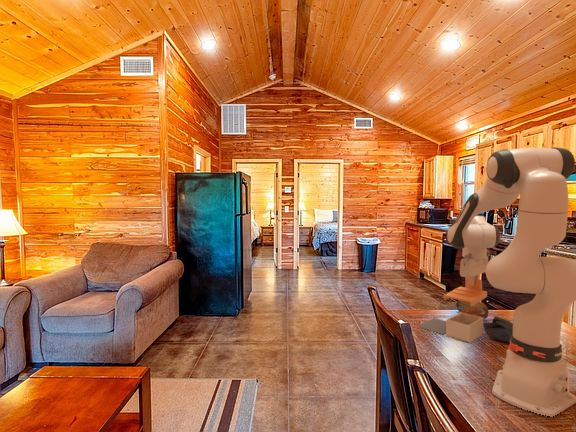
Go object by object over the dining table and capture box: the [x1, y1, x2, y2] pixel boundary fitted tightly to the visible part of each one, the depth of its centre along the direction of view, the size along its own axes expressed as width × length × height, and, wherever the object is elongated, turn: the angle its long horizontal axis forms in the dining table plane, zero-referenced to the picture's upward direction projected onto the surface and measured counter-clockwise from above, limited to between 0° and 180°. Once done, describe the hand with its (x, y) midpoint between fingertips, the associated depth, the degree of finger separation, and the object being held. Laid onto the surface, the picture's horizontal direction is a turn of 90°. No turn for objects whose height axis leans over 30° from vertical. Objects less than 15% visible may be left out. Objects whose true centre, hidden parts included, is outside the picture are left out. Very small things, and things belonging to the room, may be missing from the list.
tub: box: [445, 312, 485, 344], centre depth 131 cm, size 14×9×7 cm, turn 129°
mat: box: [419, 317, 446, 336], centre depth 141 cm, size 16×12×1 cm
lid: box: [443, 277, 488, 306], centre depth 131 cm, size 17×11×6 cm, turn 129°
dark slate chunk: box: [483, 316, 513, 344], centre depth 132 cm, size 15×22×5 cm
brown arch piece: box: [456, 300, 489, 320], centre depth 153 cm, size 15×3×8 cm, turn 25°
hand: (473, 284), depth 136 cm, fingers closed on lid
